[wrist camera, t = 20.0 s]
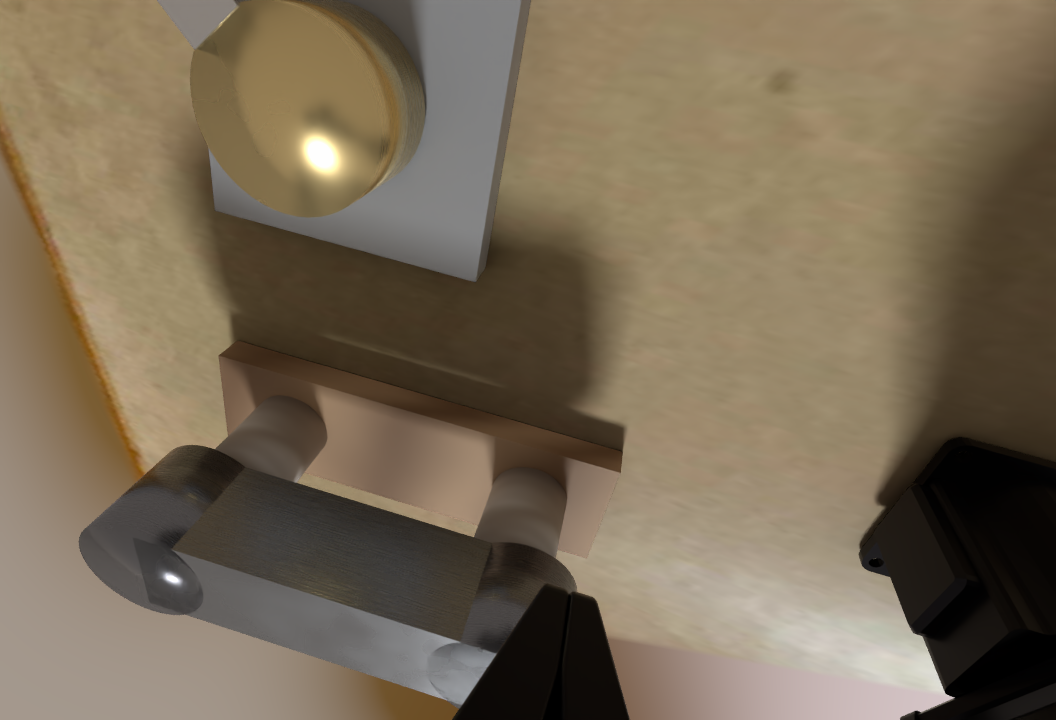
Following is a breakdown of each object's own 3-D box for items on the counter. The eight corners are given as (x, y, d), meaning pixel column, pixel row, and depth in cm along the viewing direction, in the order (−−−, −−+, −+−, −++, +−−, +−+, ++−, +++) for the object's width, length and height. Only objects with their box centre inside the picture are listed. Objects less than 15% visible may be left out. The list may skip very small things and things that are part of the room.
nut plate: (539, -53, 15) (530, -57, 14) (485, 267, 20) (475, 282, 19) (210, -130, 15) (178, -140, 14) (237, 200, 20) (214, 210, 19)
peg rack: (622, 452, 23) (611, 559, 18) (590, 536, 25) (573, 646, 21) (237, 340, 24) (140, 417, 19) (246, 433, 26) (163, 518, 22)
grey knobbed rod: (171, 511, 22) (94, 591, 19) (155, 431, 20) (64, 507, 17) (561, 635, 21) (544, 738, 18) (590, 564, 19) (575, 670, 16)
